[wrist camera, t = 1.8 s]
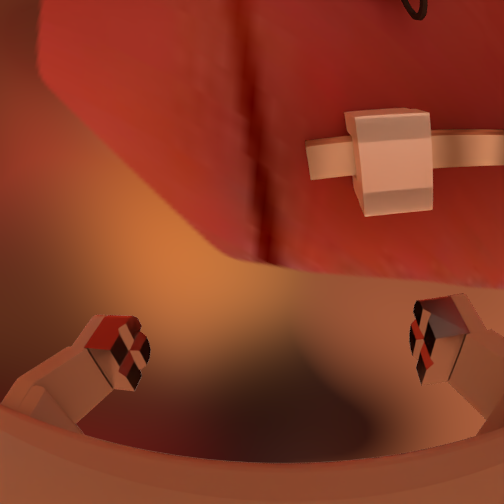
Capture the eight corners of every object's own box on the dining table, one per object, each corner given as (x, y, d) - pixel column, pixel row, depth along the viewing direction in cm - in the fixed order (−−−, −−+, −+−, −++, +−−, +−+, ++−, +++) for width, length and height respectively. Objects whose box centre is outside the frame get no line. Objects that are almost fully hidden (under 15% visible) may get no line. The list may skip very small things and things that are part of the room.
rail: (540, 118, 22) (567, 128, 17) (539, 169, 24) (564, 184, 20) (302, 125, 28) (302, 133, 24) (312, 185, 31) (314, 204, 26)
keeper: (405, 105, 25) (429, 112, 20) (411, 185, 29) (432, 209, 23) (343, 109, 26) (354, 117, 21) (353, 191, 30) (364, 216, 25)
